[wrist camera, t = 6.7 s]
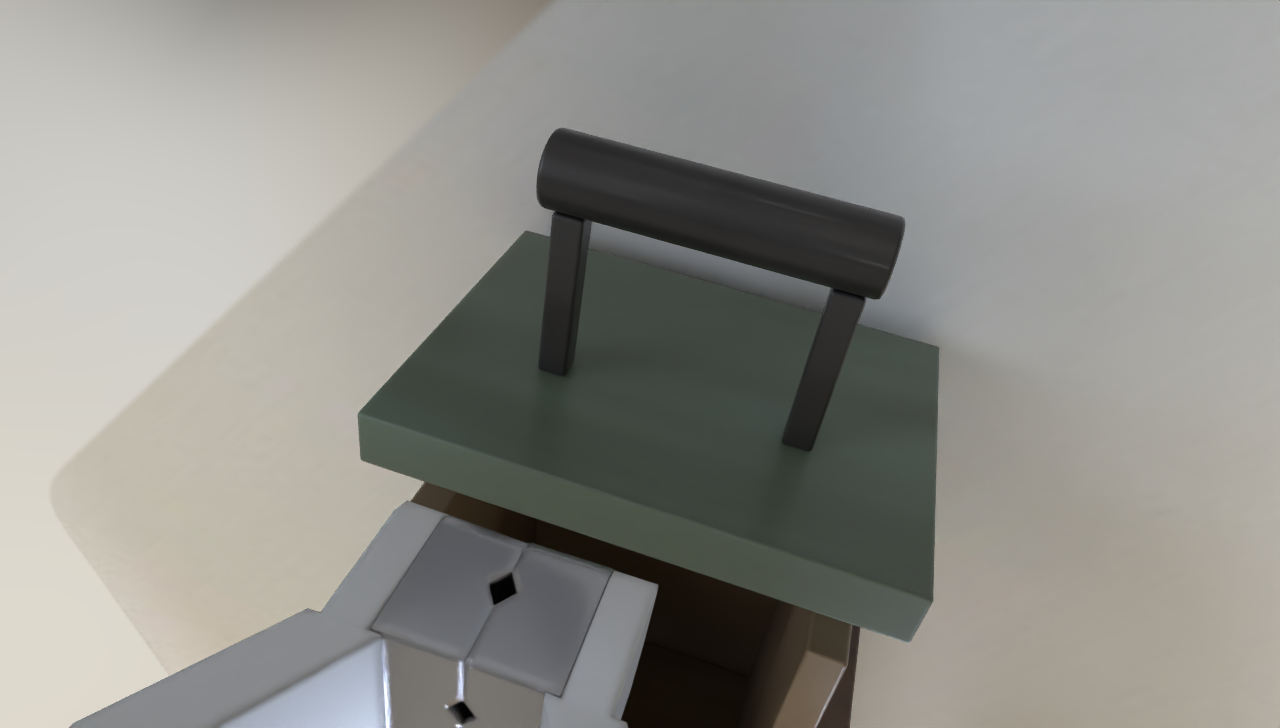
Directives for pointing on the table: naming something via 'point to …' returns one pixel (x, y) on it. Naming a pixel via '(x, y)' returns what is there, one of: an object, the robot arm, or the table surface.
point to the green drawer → (690, 428)
